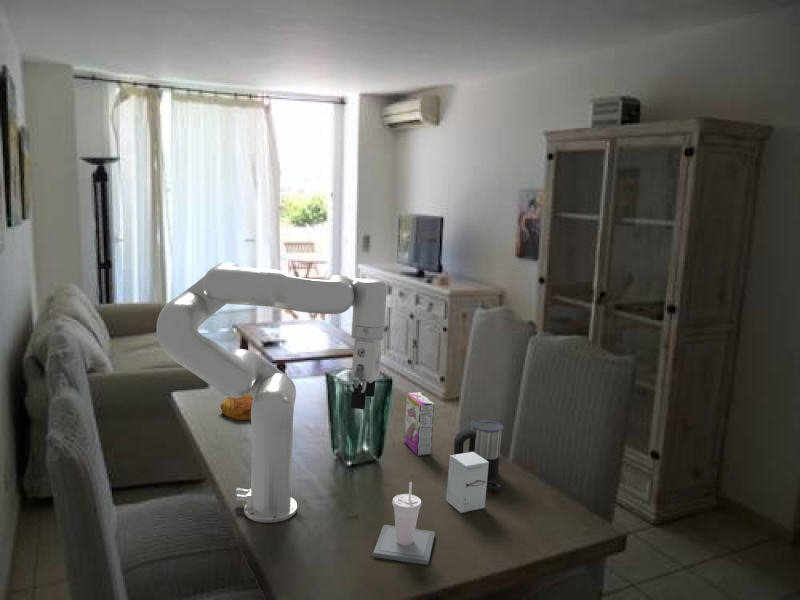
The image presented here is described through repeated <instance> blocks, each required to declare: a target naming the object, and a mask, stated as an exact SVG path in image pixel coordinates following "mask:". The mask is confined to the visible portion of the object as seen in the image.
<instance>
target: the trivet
mask: <svg viewBox="0 0 800 600" xmlns="http://www.w3.org/2000/svg"><path fill="white" fill-rule="evenodd" d="M435 534H436V531H433V530H425V529H419V528H415V533H414V538H413V543H412V544H410V545H401V544H399V543H397V541H396V528H395V525H390V524H383V526H382V528H381V531H380V534H379V537H378V539H377V542H376V545H375V547H374V550H373V553H372V557H373V558H377V559H386V560H390V561H391V560H393V561H400V562H404V563H405V562H406V563H412V564H419V565H425V566H429V564H430V559H431V555H432V554H431V553H432V550H433V545H434V540H435V536H436V535H435Z"/></svg>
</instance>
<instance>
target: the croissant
mask: <svg viewBox="0 0 800 600" xmlns="http://www.w3.org/2000/svg"><path fill="white" fill-rule="evenodd" d="M252 402H253V397H252V396H250V395H248V394H247V395H245V396H243V397H241V398H231V397H228V396H227V398H226V399H225V400H224V401H222V402H221V404H220V410H221V413H222V414H223V415H224V416H225V417H228V418H230V419H232V421H233V420H234V421H251V407H252Z"/></svg>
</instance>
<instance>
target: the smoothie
mask: <svg viewBox="0 0 800 600" xmlns="http://www.w3.org/2000/svg"><path fill="white" fill-rule="evenodd" d="M412 487H413V482H412V481H410V482H409V486H408V493H401V494H397V495H395V496H394V497H393V498H392V507H393V511H394V523H395V524H394V526H395V528H396V541H397V543H399V544H401V545H410V544H412V543H413V538H414V533H415V529H417V522H418V517H419V513H420V509H421V507H422V499H421V498H420V497H418V496H416V495H414V494H412V491H413V490H412V489H413V488H412Z"/></svg>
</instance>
